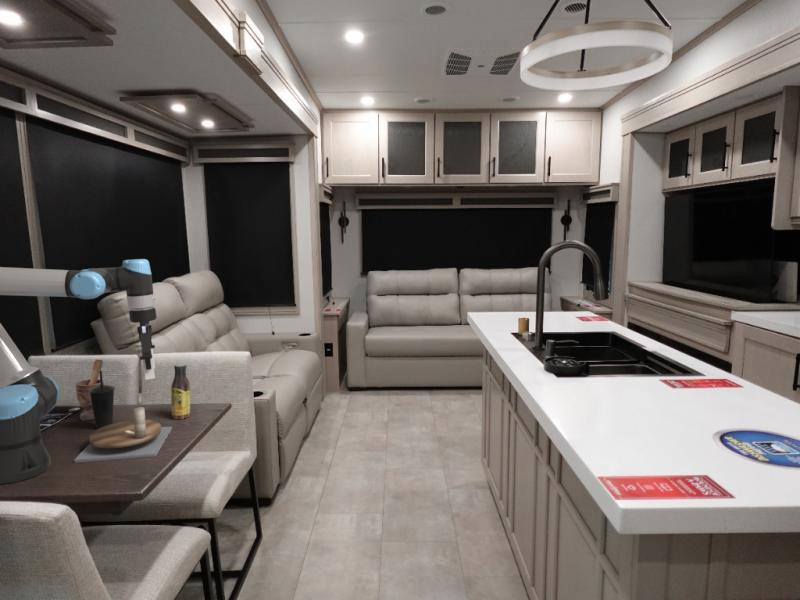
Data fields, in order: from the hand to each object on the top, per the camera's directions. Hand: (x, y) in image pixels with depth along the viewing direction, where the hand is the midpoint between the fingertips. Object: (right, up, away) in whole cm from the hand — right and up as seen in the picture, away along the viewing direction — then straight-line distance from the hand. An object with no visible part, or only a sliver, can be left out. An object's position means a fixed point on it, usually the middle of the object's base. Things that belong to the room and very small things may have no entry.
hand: (150, 373), depth 160 cm
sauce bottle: (0, -20, +23) cm, 30 cm away
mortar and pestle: (-33, -19, +24) cm, 45 cm away
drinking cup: (-22, -21, +13) cm, 33 cm away
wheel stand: (-7, -22, -1) cm, 23 cm away
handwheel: (-7, -21, -1) cm, 22 cm away
